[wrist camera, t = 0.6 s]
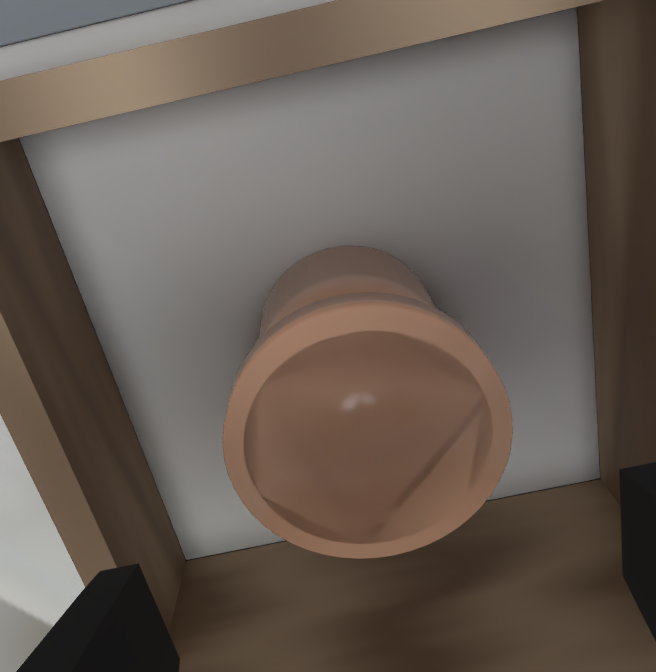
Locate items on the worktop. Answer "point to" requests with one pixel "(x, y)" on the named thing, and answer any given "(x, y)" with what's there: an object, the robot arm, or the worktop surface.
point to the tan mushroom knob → (363, 411)
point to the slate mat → (64, 15)
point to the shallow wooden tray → (286, 558)
